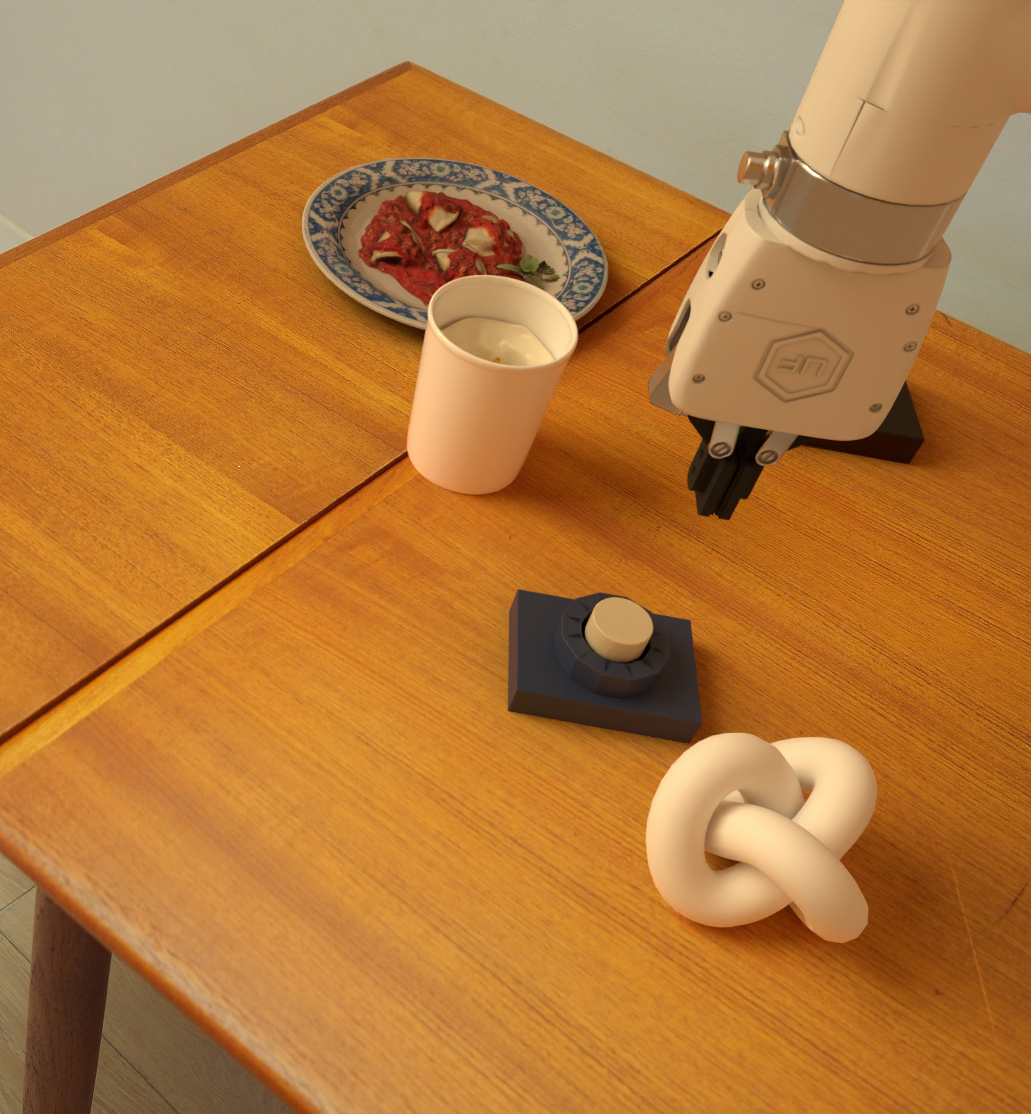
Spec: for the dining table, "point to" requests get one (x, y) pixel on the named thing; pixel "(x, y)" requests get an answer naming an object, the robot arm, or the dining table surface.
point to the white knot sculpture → (763, 832)
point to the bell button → (618, 629)
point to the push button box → (600, 671)
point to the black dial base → (886, 434)
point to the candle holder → (486, 380)
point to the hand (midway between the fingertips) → (710, 499)
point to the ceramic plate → (446, 235)
